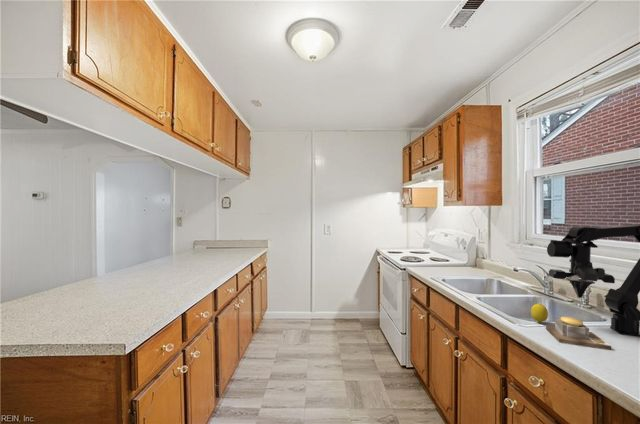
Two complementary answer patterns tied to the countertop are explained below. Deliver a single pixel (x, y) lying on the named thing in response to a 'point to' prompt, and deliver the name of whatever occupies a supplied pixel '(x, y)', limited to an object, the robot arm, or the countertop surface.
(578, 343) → the board
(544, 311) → the lemon
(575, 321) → the button
